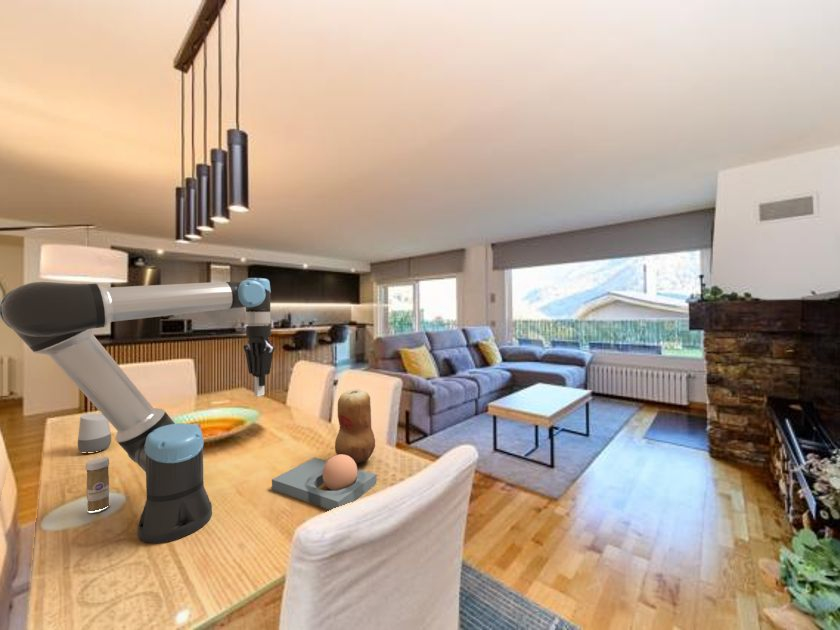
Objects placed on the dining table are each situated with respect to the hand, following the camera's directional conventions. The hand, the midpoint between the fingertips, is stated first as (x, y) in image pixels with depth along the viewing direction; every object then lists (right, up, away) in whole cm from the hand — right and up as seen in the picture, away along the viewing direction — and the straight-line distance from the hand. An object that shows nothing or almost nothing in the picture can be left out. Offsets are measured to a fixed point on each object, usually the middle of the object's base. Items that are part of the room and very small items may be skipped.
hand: (259, 395), depth 117 cm
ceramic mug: (-40, -24, +24) cm, 53 cm away
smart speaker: (-69, -25, +15) cm, 75 cm away
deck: (+24, -25, -12) cm, 37 cm away
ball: (+30, -20, -14) cm, 38 cm away
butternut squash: (+31, -24, +4) cm, 40 cm away
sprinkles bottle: (-32, -25, -23) cm, 47 cm away
